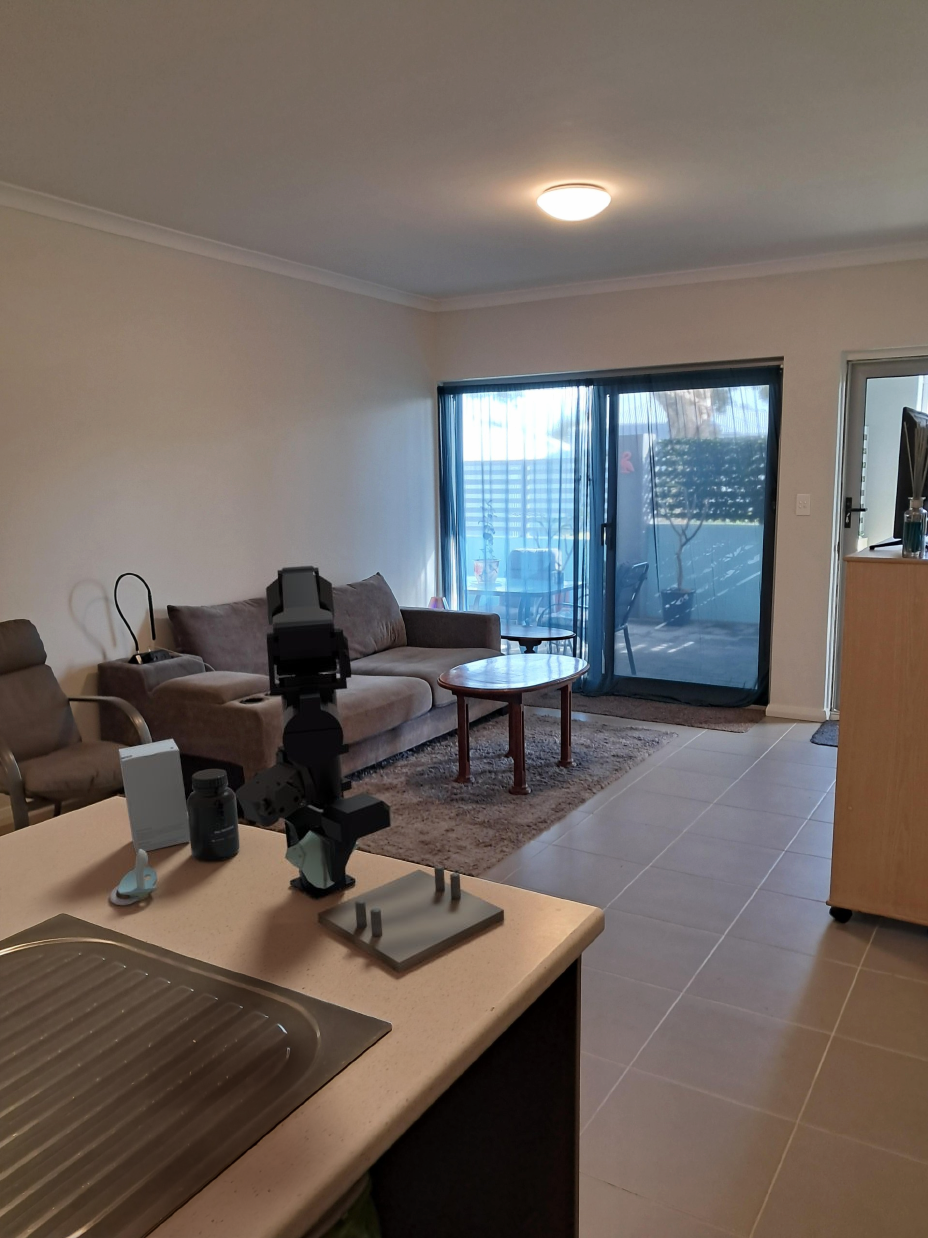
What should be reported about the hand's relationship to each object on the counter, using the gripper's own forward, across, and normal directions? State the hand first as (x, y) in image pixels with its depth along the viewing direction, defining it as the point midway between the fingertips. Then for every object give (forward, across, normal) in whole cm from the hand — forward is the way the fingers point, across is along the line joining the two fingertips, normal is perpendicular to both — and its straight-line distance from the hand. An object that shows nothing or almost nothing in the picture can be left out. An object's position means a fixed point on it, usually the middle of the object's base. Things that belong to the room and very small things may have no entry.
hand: (323, 874), depth 101 cm
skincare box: (+12, -48, +2) cm, 49 cm away
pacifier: (+12, -34, -8) cm, 37 cm away
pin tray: (+11, -2, +13) cm, 17 cm away
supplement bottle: (+12, -38, +6) cm, 40 cm away
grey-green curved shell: (+2, 0, 0) cm, 2 cm away
